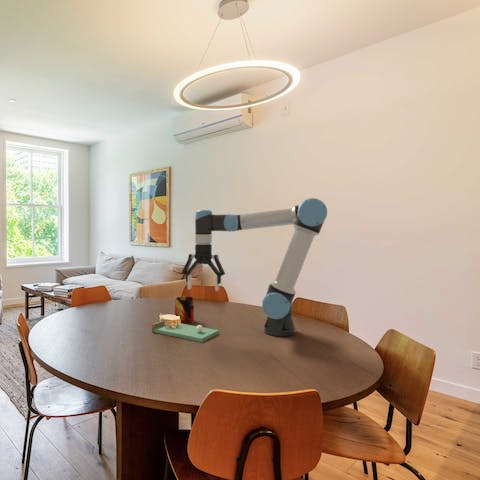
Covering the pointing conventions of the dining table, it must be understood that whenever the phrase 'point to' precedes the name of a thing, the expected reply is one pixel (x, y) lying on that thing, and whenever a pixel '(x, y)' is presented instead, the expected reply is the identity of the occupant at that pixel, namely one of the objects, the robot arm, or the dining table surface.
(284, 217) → the robot arm
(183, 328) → the board with hole
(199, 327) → the ball
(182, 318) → the mug
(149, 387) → the dining table surface
